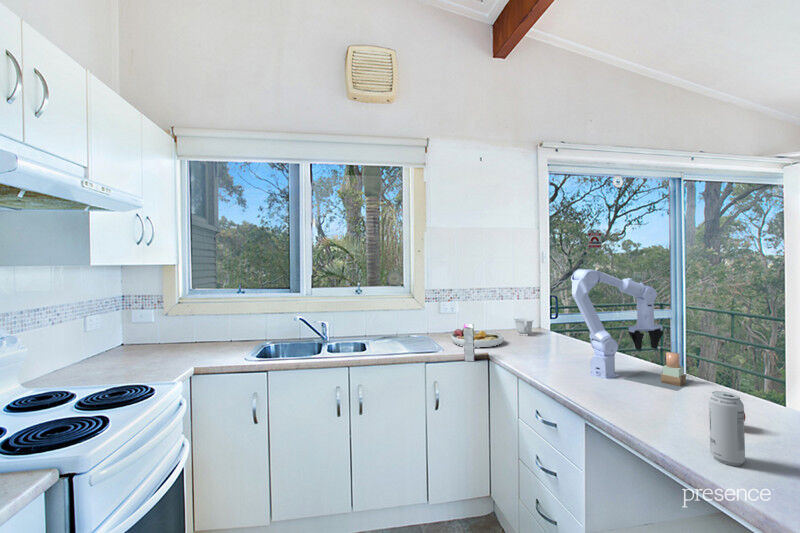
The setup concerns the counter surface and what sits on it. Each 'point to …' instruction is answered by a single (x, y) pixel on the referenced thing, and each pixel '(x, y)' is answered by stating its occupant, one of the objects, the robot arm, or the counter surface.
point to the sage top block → (673, 371)
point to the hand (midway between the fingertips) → (646, 348)
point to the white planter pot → (523, 325)
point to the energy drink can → (727, 428)
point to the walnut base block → (673, 380)
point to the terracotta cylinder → (672, 360)
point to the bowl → (478, 338)
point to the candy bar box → (469, 342)
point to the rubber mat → (654, 380)
